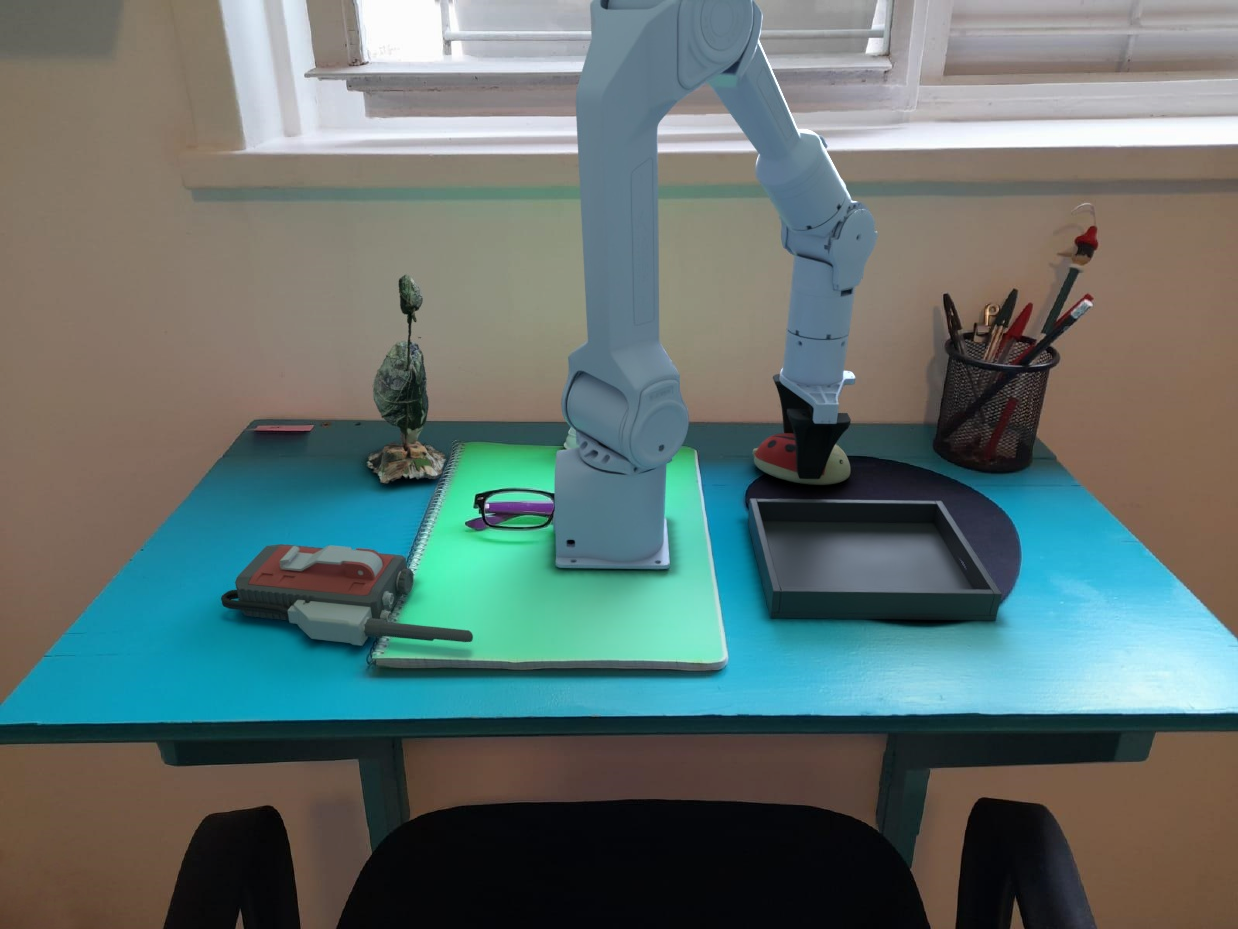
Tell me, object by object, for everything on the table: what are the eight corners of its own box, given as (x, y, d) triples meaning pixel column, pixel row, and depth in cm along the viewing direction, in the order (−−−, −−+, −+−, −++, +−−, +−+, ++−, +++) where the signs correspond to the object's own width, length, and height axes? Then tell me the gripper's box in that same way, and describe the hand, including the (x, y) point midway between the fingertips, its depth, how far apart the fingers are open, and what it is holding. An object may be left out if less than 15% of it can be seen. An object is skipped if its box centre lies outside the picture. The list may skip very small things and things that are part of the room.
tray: (770, 618, 66) (773, 591, 65) (747, 522, 79) (749, 498, 78) (995, 620, 66) (1002, 594, 65) (936, 524, 79) (941, 500, 78)
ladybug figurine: (846, 495, 84) (851, 462, 82) (744, 479, 86) (747, 447, 85) (852, 465, 89) (856, 433, 88) (756, 451, 92) (759, 420, 90)
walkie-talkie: (207, 634, 64) (469, 662, 61) (194, 584, 62) (464, 612, 59) (267, 568, 72) (502, 590, 69) (257, 522, 70) (499, 543, 67)
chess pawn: (583, 454, 90) (582, 410, 88) (559, 449, 91) (558, 405, 89) (595, 443, 93) (595, 400, 90) (571, 438, 94) (570, 396, 91)
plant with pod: (452, 438, 94) (436, 253, 85) (443, 488, 84) (424, 285, 75) (376, 440, 93) (351, 254, 84) (357, 491, 83) (327, 286, 74)
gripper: (880, 357, 74) (859, 495, 81) (843, 307, 87) (827, 429, 93) (798, 356, 74) (783, 494, 81) (773, 306, 87) (761, 429, 94)
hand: (802, 460), depth 87 cm, fingers closed on ladybug figurine, 7 cm apart
